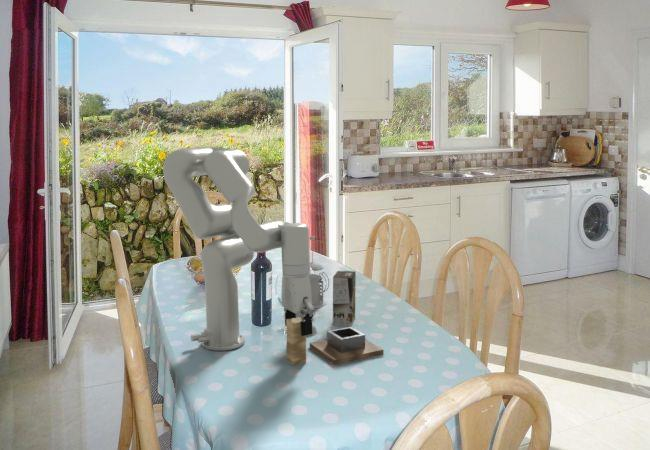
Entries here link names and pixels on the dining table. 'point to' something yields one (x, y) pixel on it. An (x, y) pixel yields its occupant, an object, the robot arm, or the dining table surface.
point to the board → (345, 357)
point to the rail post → (295, 342)
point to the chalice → (314, 293)
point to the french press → (317, 267)
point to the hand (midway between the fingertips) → (298, 329)
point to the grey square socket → (346, 339)
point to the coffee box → (344, 298)
